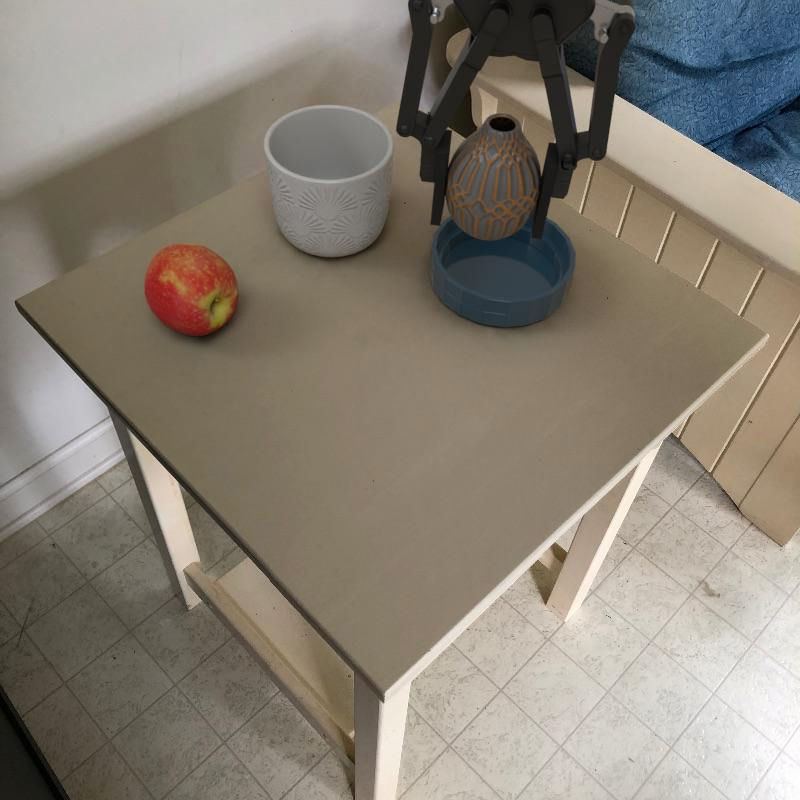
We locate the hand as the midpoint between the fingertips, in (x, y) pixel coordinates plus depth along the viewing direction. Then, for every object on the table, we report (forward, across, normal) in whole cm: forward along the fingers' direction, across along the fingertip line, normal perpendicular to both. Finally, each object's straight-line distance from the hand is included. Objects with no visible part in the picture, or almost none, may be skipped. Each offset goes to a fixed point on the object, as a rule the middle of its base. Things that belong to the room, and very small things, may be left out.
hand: (487, 219), depth 63 cm
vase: (0, 0, 0) cm, 0 cm away
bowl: (+17, -2, -12) cm, 21 cm away
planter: (+18, +16, -16) cm, 29 cm away
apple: (+18, +26, -1) cm, 31 cm away
